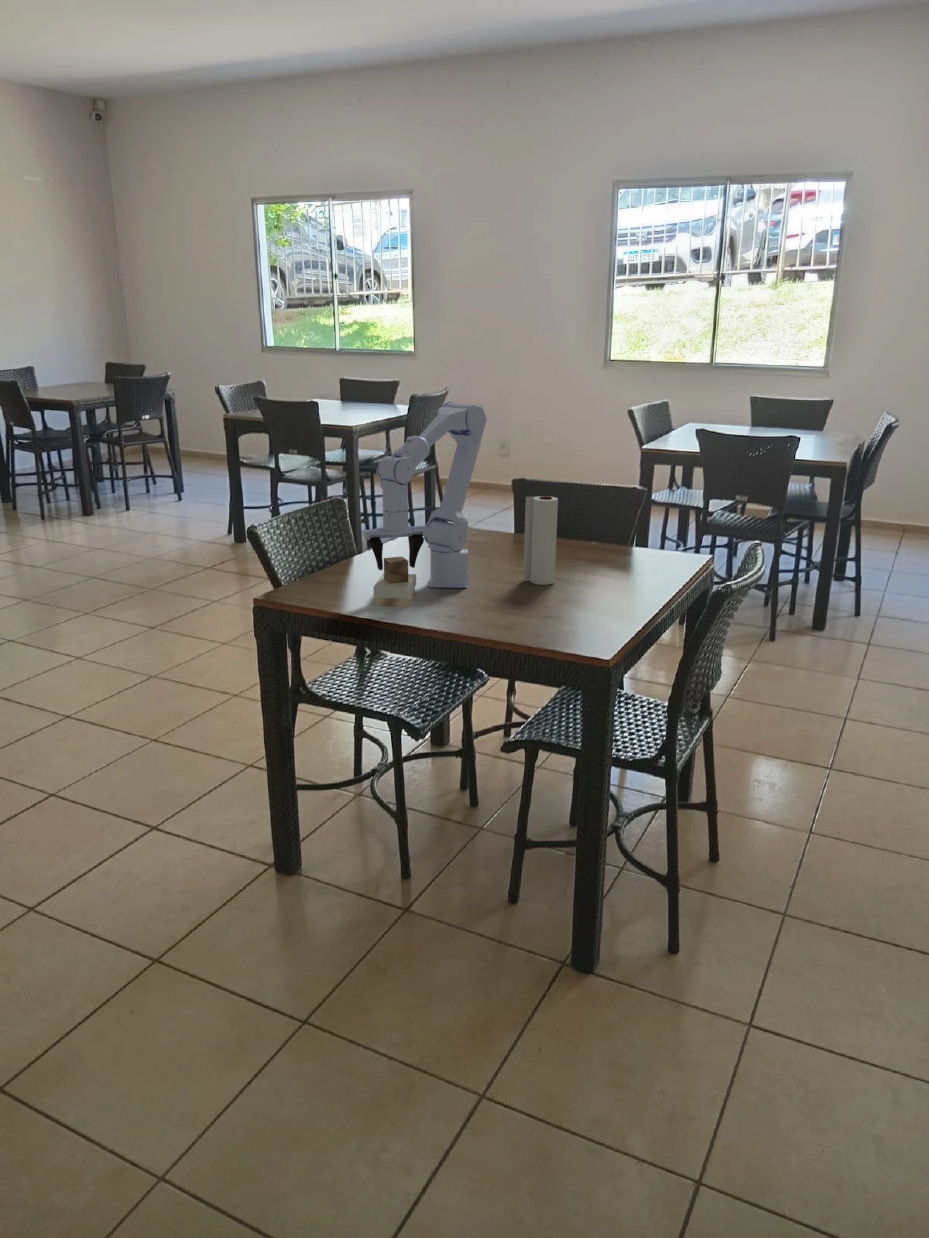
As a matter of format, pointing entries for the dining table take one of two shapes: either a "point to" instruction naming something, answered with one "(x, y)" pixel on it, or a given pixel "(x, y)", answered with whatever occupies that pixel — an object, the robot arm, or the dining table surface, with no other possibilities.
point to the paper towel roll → (540, 539)
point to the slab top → (394, 588)
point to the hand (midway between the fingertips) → (396, 567)
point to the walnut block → (396, 570)
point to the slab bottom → (395, 601)
